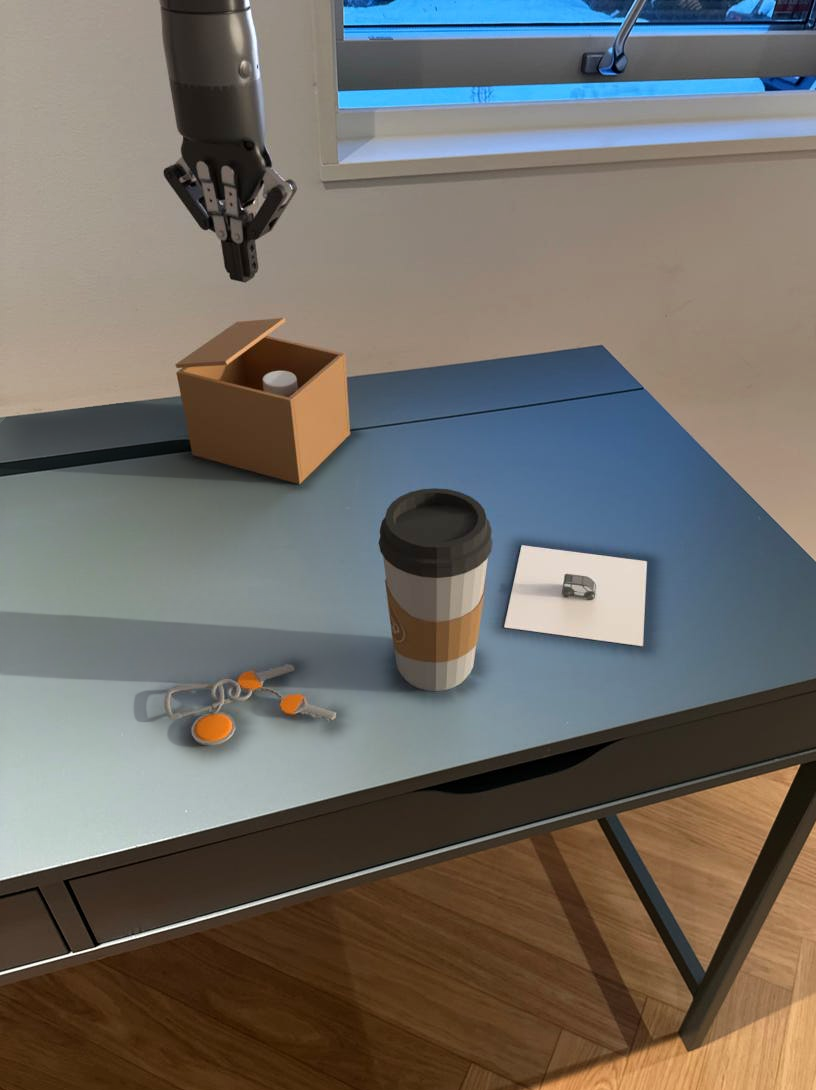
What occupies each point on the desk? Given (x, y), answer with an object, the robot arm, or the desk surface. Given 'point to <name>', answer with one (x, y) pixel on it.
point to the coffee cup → (435, 583)
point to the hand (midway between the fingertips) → (242, 278)
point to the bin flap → (230, 343)
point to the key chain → (222, 725)
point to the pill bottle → (280, 383)
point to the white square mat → (578, 595)
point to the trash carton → (268, 409)
